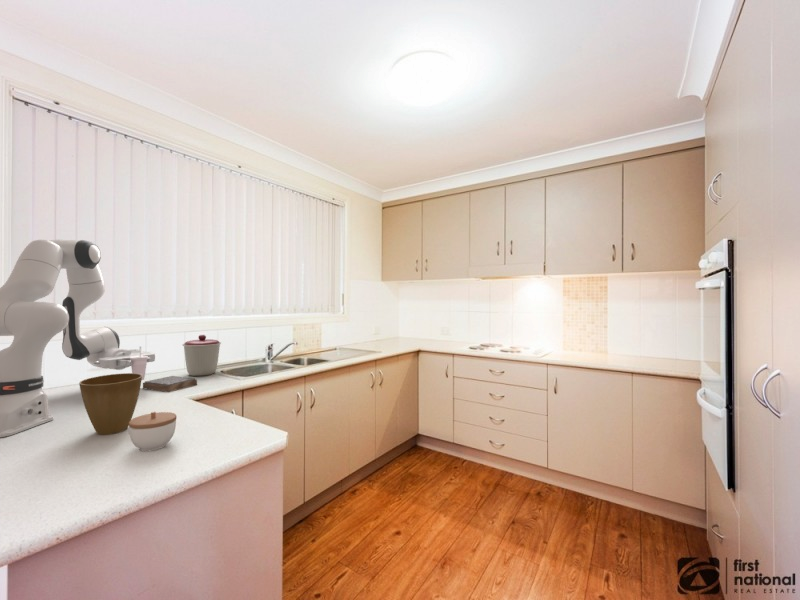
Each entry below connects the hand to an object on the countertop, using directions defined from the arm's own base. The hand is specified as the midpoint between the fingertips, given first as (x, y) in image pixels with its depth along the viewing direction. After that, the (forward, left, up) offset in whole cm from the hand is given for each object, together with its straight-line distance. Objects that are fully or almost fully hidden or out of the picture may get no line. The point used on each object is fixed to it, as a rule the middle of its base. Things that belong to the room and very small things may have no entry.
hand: (140, 361), depth 151 cm
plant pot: (-45, -10, -14) cm, 49 cm away
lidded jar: (-61, -27, -14) cm, 69 cm away
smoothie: (+1, +1, -8) cm, 8 cm away
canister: (+39, -13, -14) cm, 43 cm away
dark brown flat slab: (+12, -7, -14) cm, 20 cm away
